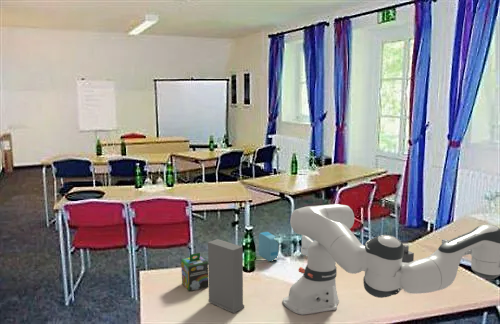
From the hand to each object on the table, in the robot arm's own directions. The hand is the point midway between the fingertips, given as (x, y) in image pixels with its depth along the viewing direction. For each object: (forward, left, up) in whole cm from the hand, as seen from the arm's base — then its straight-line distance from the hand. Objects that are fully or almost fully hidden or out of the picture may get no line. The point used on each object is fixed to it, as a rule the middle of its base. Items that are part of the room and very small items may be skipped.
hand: (451, 239), depth 188 cm
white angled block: (-23, +66, -24) cm, 74 cm away
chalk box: (-87, +58, -24) cm, 107 cm away
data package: (-43, +71, -24) cm, 87 cm away
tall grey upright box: (-83, +35, -24) cm, 93 cm away
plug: (0, +23, -23) cm, 33 cm away
